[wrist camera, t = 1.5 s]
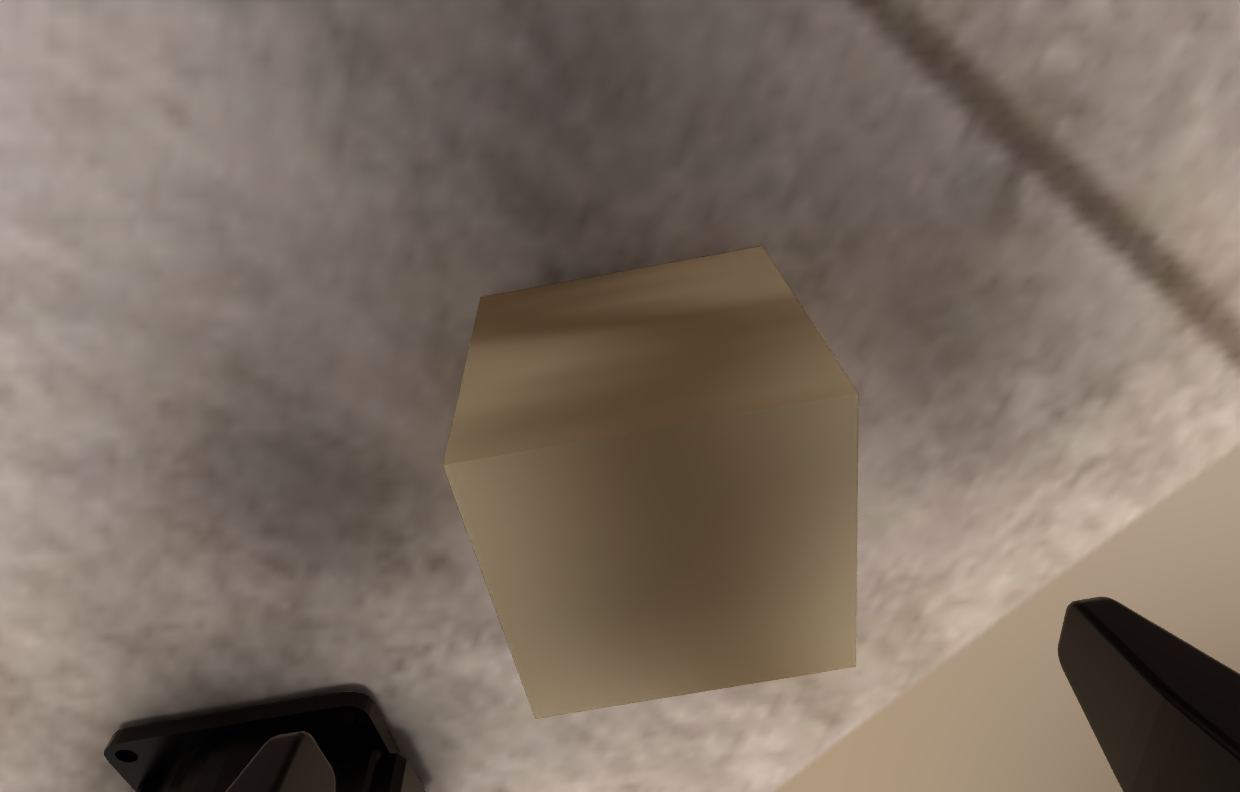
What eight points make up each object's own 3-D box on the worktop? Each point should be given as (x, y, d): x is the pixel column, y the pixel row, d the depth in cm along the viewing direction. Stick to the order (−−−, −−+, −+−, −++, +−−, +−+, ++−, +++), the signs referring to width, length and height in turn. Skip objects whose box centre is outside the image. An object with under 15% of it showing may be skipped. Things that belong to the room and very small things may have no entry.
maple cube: (542, 508, 16) (535, 719, 12) (480, 295, 13) (442, 465, 9) (775, 468, 16) (855, 666, 11) (761, 244, 13) (858, 393, 9)
